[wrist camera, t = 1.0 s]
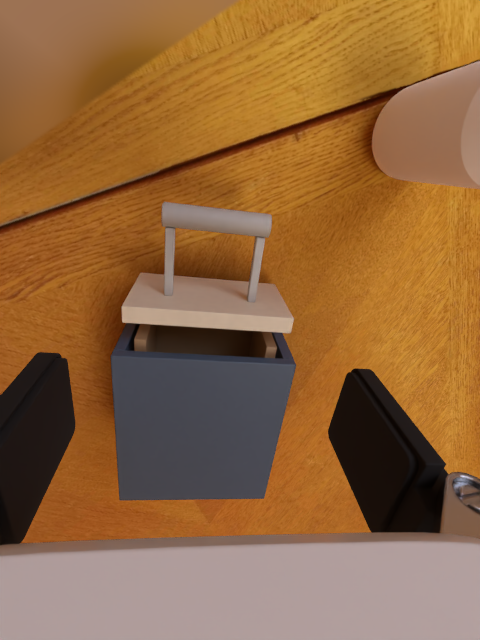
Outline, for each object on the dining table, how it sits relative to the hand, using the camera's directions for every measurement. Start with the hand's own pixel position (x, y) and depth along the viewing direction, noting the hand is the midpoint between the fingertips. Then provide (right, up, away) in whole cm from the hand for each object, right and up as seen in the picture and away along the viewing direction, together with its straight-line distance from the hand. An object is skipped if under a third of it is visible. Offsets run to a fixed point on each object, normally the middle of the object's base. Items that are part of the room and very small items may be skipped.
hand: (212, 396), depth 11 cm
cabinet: (-3, -3, +22) cm, 22 cm away
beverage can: (+14, +17, +14) cm, 26 cm away
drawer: (-2, +3, +18) cm, 18 cm away
